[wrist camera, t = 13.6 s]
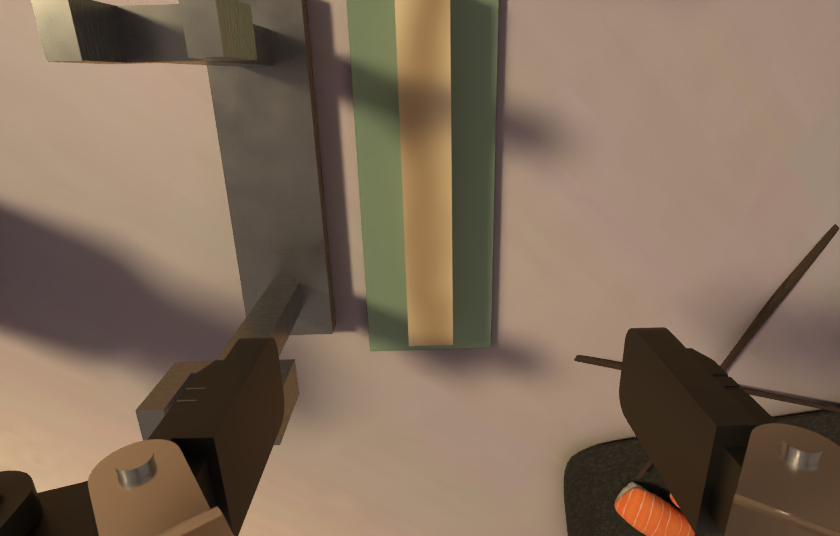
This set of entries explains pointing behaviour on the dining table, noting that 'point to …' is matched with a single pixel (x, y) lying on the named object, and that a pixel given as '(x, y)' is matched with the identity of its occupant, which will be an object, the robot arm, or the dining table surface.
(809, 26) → the dining table surface
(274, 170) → the rail stand
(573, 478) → the sushi plate
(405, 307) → the rubber mat
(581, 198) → the dining table surface
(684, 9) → the dining table surface
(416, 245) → the beech rail
